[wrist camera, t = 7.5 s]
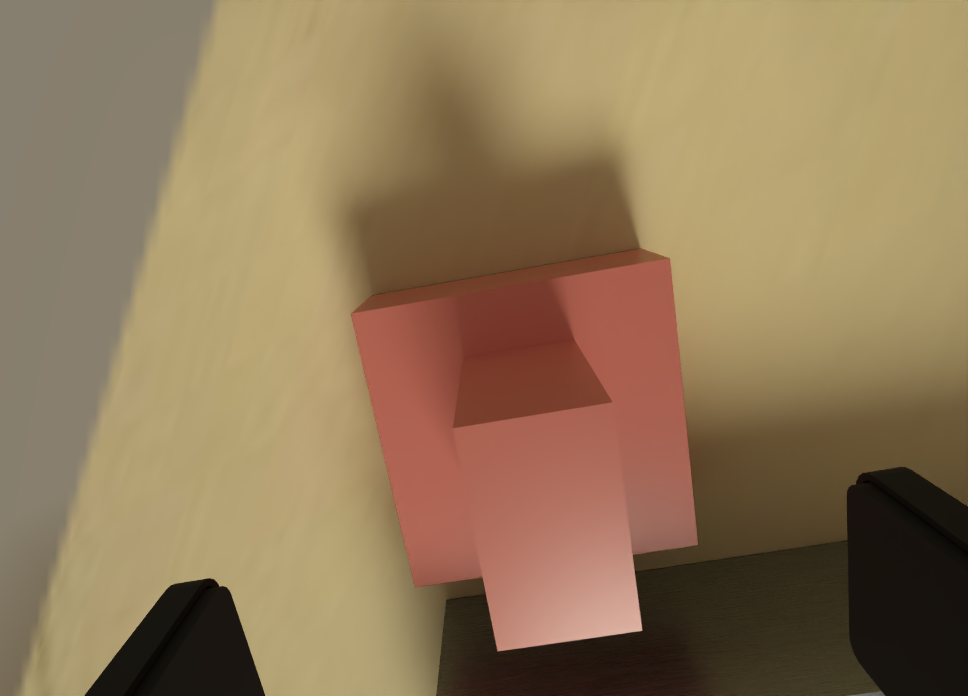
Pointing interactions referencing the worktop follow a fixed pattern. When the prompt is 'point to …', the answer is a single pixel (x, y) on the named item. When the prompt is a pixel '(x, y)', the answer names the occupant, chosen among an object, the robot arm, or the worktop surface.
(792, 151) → the worktop surface
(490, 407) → the cap
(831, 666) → the panel
